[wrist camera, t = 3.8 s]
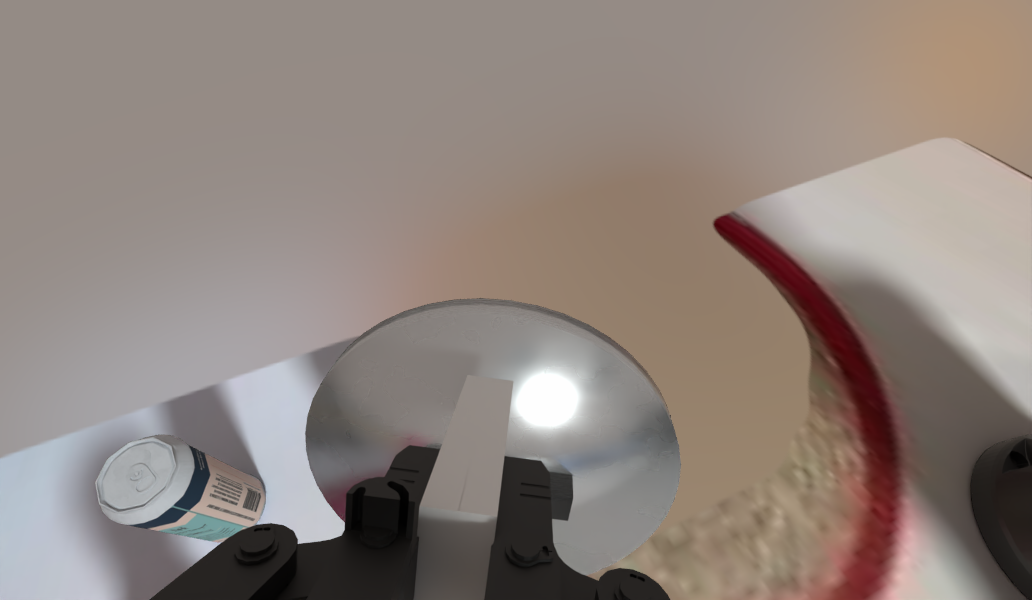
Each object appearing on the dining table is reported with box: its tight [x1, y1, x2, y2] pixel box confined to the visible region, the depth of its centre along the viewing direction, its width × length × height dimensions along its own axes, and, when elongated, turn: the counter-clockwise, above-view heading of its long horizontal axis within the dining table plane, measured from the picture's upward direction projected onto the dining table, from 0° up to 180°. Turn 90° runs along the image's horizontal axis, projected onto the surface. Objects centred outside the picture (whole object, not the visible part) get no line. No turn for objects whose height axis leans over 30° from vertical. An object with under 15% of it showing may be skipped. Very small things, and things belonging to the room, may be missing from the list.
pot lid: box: [305, 298, 681, 576], centre depth 21 cm, size 16×17×3 cm
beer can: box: [95, 435, 266, 543], centre depth 31 cm, size 5×5×12 cm
